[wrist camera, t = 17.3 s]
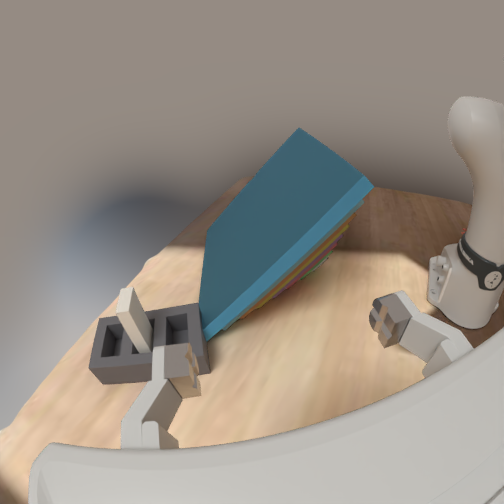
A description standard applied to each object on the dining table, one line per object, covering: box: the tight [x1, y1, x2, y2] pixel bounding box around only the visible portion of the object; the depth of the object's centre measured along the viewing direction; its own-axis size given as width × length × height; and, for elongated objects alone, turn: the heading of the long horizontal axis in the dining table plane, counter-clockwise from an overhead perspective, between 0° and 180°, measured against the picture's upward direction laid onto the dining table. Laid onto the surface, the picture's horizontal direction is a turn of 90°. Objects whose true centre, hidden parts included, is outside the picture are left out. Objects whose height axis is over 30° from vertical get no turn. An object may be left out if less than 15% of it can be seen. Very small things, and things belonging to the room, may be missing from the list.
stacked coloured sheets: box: [199, 128, 374, 342], centre depth 55 cm, size 35×18×35 cm
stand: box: [89, 303, 210, 384], centre depth 41 cm, size 11×19×5 cm, turn 102°
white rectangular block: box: [116, 287, 154, 353], centre depth 39 cm, size 5×2×12 cm, turn 12°
